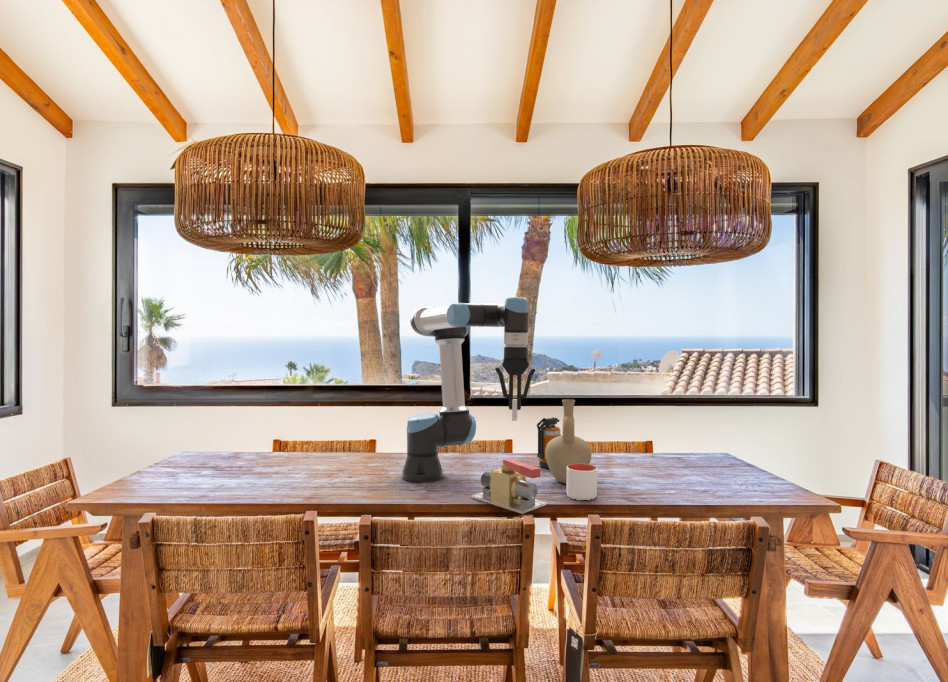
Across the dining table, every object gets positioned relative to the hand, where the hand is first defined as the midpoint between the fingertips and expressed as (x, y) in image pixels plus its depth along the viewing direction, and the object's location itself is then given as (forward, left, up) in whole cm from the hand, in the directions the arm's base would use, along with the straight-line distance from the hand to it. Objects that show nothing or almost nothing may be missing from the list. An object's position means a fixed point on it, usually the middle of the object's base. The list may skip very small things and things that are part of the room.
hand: (514, 419), depth 176 cm
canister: (-20, +45, -27) cm, 56 cm away
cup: (+12, +21, -27) cm, 36 cm away
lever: (+3, -1, -17) cm, 17 cm away
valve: (-2, 0, -27) cm, 27 cm away
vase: (-2, +33, -27) cm, 43 cm away
